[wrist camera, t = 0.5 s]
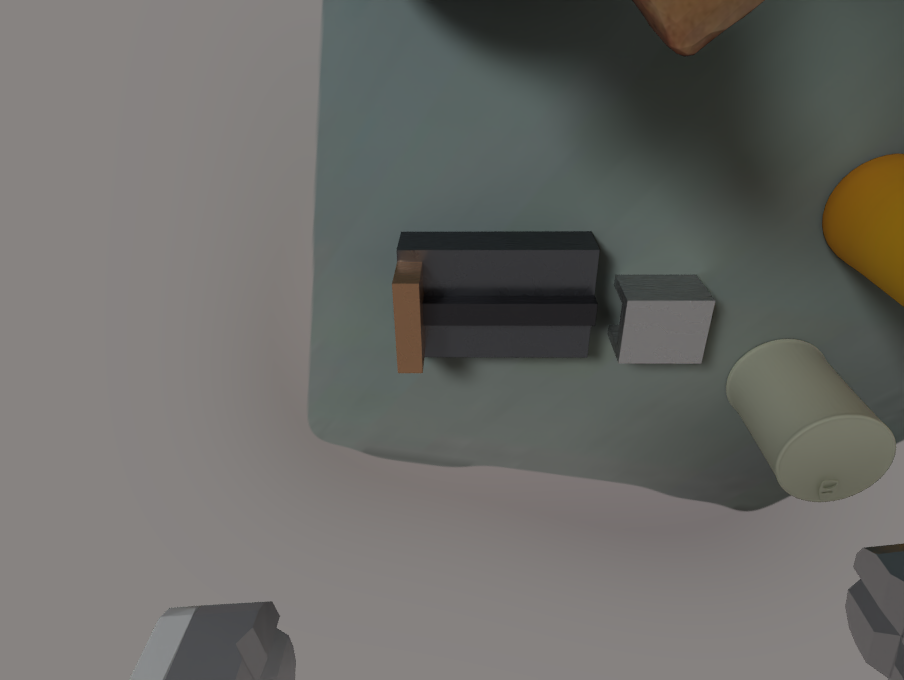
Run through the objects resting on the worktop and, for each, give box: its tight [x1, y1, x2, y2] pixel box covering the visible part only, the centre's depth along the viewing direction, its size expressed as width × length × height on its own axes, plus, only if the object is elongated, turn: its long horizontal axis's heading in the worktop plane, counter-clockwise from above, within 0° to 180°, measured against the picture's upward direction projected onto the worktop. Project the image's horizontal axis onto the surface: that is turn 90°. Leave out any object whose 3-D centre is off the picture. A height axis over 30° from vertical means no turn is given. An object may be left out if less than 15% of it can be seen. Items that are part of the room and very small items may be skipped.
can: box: [726, 339, 896, 502], centre depth 55 cm, size 9×9×12 cm
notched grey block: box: [607, 275, 715, 364], centre depth 54 cm, size 7×6×5 cm
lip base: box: [392, 231, 600, 373], centre depth 52 cm, size 16×10×8 cm, turn 91°
